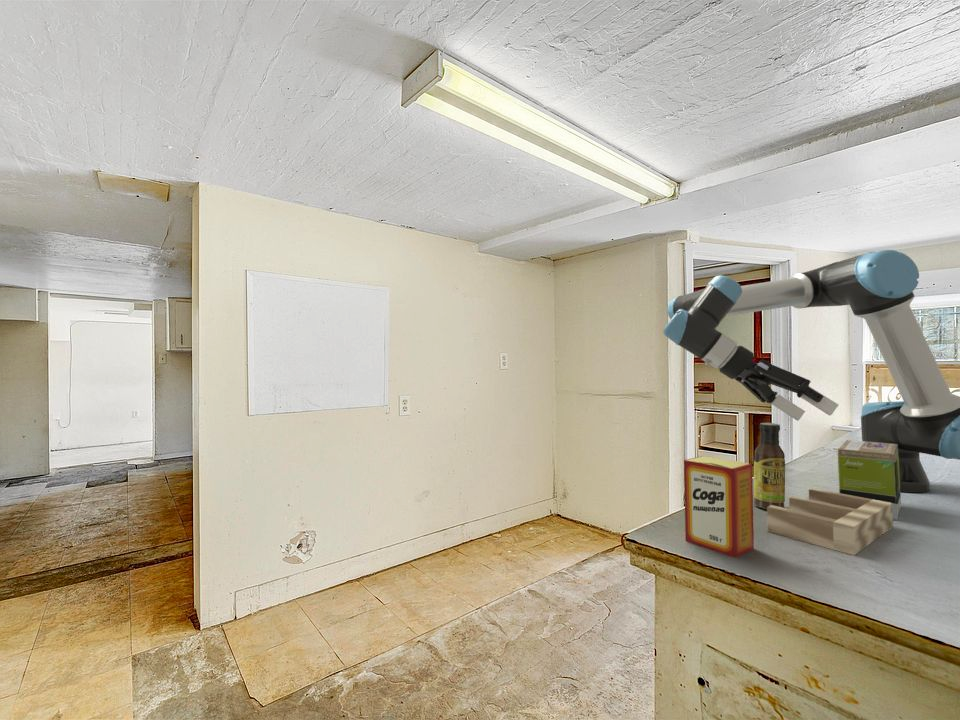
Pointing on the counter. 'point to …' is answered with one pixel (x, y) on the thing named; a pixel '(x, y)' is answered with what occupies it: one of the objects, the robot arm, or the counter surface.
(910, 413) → the robot arm
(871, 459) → the tea box
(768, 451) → the sauce bottle
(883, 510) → the comb rack
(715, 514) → the baking soda box
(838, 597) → the counter surface
